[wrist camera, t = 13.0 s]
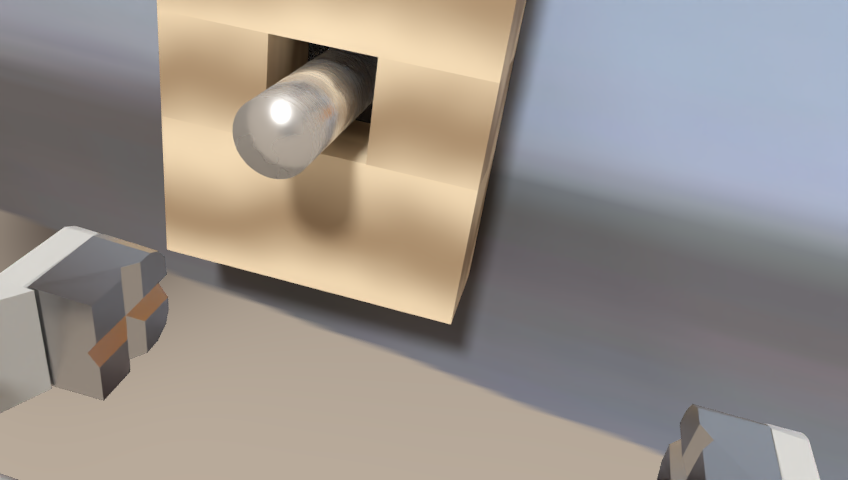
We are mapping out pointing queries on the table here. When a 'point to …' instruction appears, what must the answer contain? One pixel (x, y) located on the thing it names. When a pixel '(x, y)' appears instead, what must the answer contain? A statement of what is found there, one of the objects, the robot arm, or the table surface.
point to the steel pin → (304, 112)
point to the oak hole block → (339, 143)
